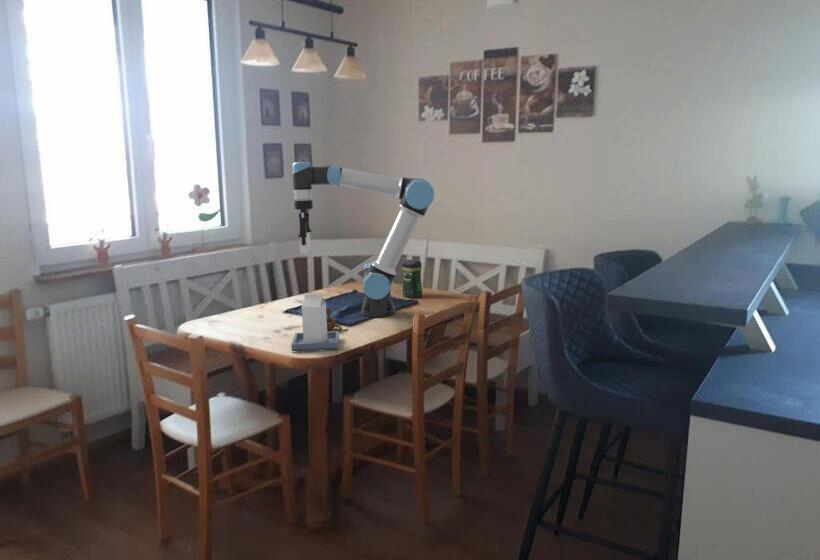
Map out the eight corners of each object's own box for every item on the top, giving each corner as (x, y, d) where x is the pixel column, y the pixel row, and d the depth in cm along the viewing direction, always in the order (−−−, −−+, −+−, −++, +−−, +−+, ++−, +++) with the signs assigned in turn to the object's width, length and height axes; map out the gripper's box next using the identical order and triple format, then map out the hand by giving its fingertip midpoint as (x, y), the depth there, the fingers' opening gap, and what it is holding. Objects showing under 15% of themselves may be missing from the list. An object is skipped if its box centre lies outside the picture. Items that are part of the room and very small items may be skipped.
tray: (339, 338, 255) (338, 331, 255) (337, 350, 241) (337, 342, 240) (295, 340, 254) (295, 332, 253) (291, 352, 239) (291, 344, 239)
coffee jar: (424, 296, 325) (424, 259, 321) (415, 299, 319) (414, 262, 315) (409, 293, 331) (409, 257, 327) (400, 296, 324) (399, 260, 321)
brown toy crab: (300, 333, 266) (300, 319, 265) (326, 321, 284) (326, 308, 283) (337, 337, 259) (336, 323, 258) (361, 325, 277) (361, 311, 275)
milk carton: (321, 345, 243) (319, 296, 239) (303, 345, 244) (301, 296, 240) (327, 340, 250) (325, 292, 246) (310, 339, 251) (307, 291, 247)
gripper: (297, 197, 280) (299, 245, 285) (291, 202, 256) (293, 255, 260) (314, 197, 281) (316, 245, 285) (310, 201, 257) (312, 254, 261)
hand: (305, 250), depth 273 cm, fingers open, 13 cm apart
